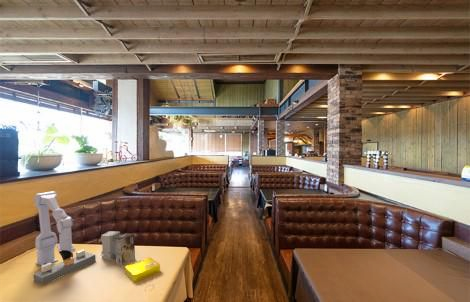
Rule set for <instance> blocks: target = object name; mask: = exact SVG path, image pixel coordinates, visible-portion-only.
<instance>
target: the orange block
mask: <svg viewBox="0 0 470 302" xmlns="http://www.w3.org/2000/svg"><path fill="white" fill-rule="evenodd" d="M63 262H64V265H65V266H68V265H70V264H73V263H74V256H73V257H70V258H68V259H65V260H64V261H63Z"/></svg>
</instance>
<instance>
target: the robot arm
mask: <svg viewBox="0 0 470 302" xmlns="http://www.w3.org/2000/svg"><path fill="white" fill-rule="evenodd" d="M57 195H58V194H57V192H56V191H54V190H52V191H47V192H42V193H41V192H40V193H35V195H34V197H33V202H34V207H35V208H37V210H38V218H39V228H40V229H39V230H40V234H39V235H37V236H36V237H35V244H34V246H35V249H36V250H37V252H36V261H37V262H36V261H35V264H36V265H39V266H42V265H43V264H44V263H47V264H48V263H52V264H53V263H54V262H55V263H56V262H57V261H58V260H59V259H57V258H55V247H56V249H57V251H58V253H59V254H60V256H61V258H62V261H63V262H64V260H65V259H68V258H70V256H71V253H74V252H75V253H76V247H74V245H73V241H72V227H73V226H74V220H73V218H72V217H71V216H70V215H68V214H67V213H66V211H65V210H64V209H63V208H61V207H60V206H59V203H58V201H57V199H58V196H57ZM49 208H50V210H51V212H52V214H51V215H52V217H53V219H54V220H55V222H56V229H57V233H58V235H59V236H58V237H57V234H56V233H55V232H53V231H52V229H51V228H52V227H51V220H50V218H51V217H50V210H49ZM58 238H59V240H58ZM58 241H59V243H58Z"/></svg>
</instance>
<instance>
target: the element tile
mask: <svg viewBox="0 0 470 302" xmlns="http://www.w3.org/2000/svg"><path fill="white" fill-rule="evenodd" d="M159 273H161V264H160V263H159V262H157V261H156V260H154V259H153V258H152V257H150V256H149V257H145V258H143V259H140V260H138V261H134V262H132V263H131V262H130V263H127V264H125V266H124V274H125V275H126V276H127V277H128V278H129V279H130V280H131V282H133V283H138V282H141V281H143V280H146V279H147V278H148V279H149V278H151V277H152V276H154V275H155V276H156V275H157V274H159Z"/></svg>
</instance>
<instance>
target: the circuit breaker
mask: <svg viewBox="0 0 470 302" xmlns="http://www.w3.org/2000/svg"><path fill="white" fill-rule="evenodd" d="M100 236H101V237H100V242H101V245H102V249H101V255H100V256H101V259H102V258H103V259H104V260H114V259H116V251H115V237H118V236H121V231H114V230H113V231H112V230H111V231H109V230H108V231H107V232H105V233H103V234H101V235H100ZM103 259H102V260H103Z"/></svg>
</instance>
